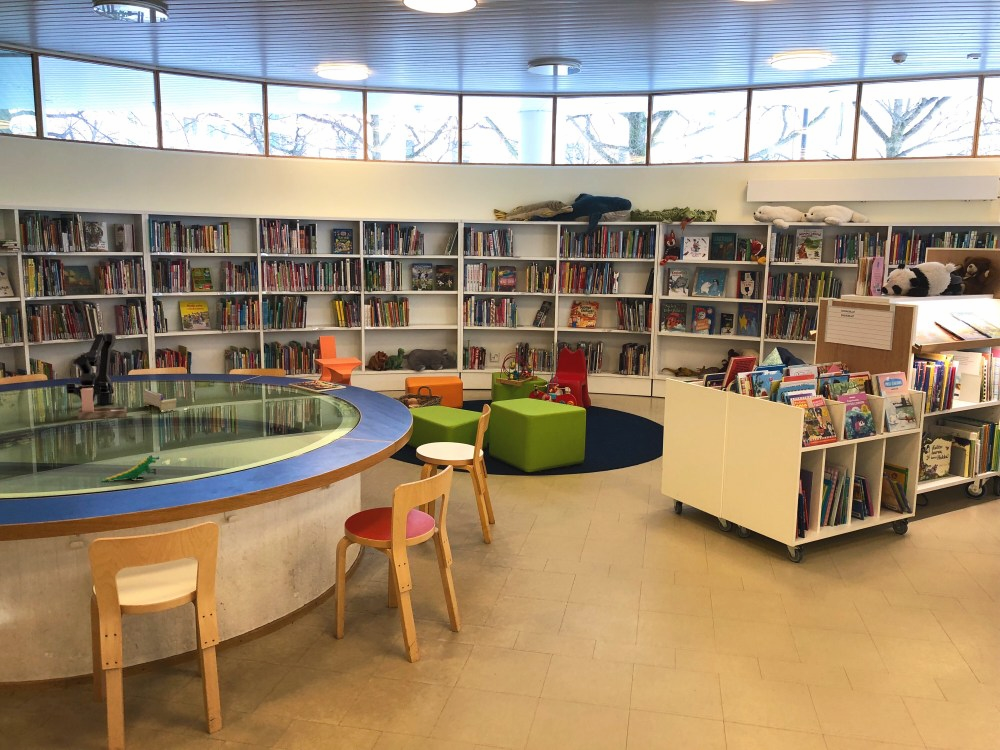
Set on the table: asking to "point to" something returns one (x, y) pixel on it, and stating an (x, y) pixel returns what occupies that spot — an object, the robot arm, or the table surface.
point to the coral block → (87, 400)
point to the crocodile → (137, 469)
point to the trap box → (103, 413)
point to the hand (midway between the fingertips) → (87, 401)
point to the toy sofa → (158, 400)
